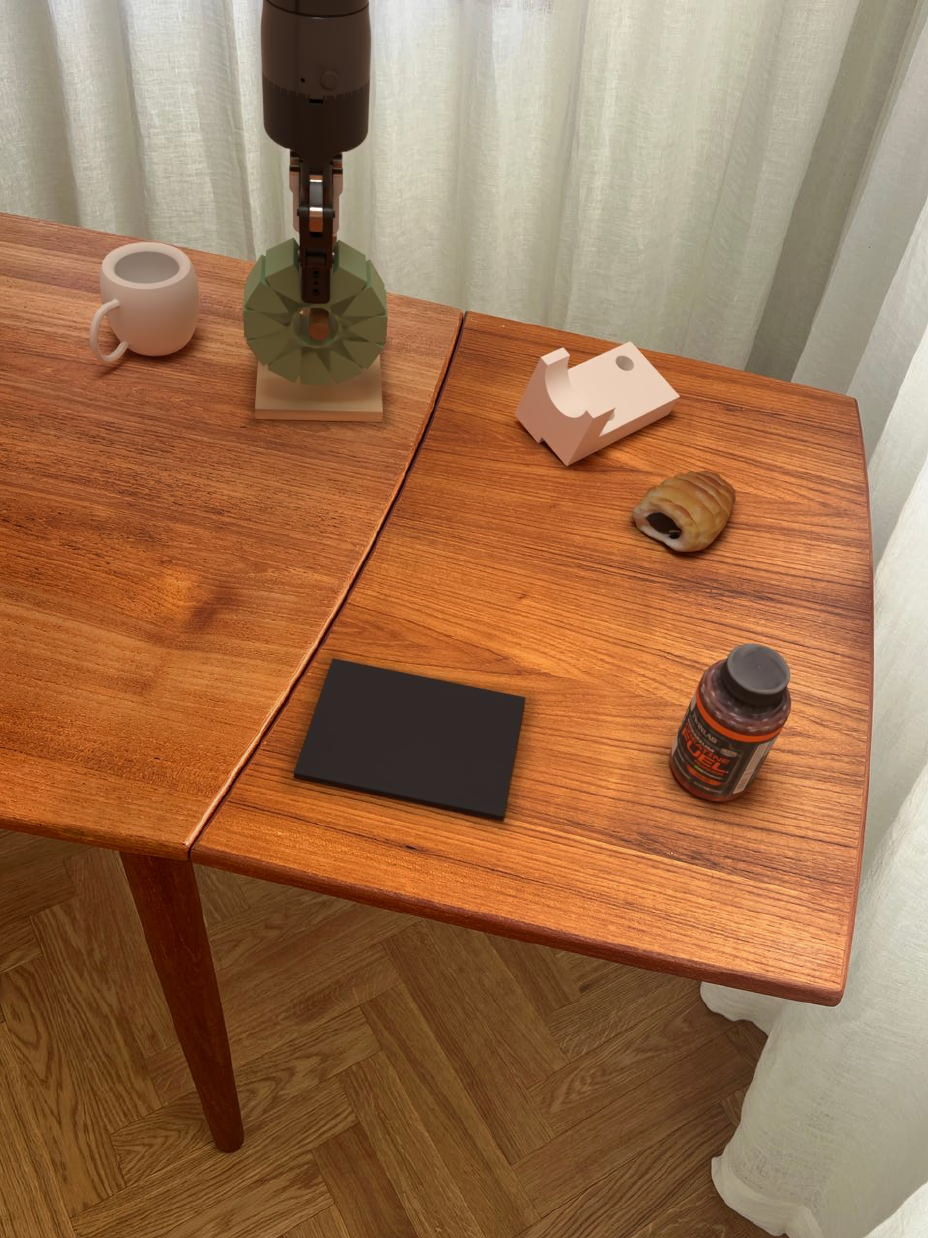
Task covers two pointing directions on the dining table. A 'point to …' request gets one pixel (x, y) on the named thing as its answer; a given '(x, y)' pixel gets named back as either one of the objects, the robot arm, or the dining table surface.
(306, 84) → the robot arm
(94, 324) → the mug
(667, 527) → the pastry
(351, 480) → the dining table surface
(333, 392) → the peg stand with base
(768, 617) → the dining table surface
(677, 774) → the supplement bottle
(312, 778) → the mat
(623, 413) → the bracket
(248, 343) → the green grooved wheel
